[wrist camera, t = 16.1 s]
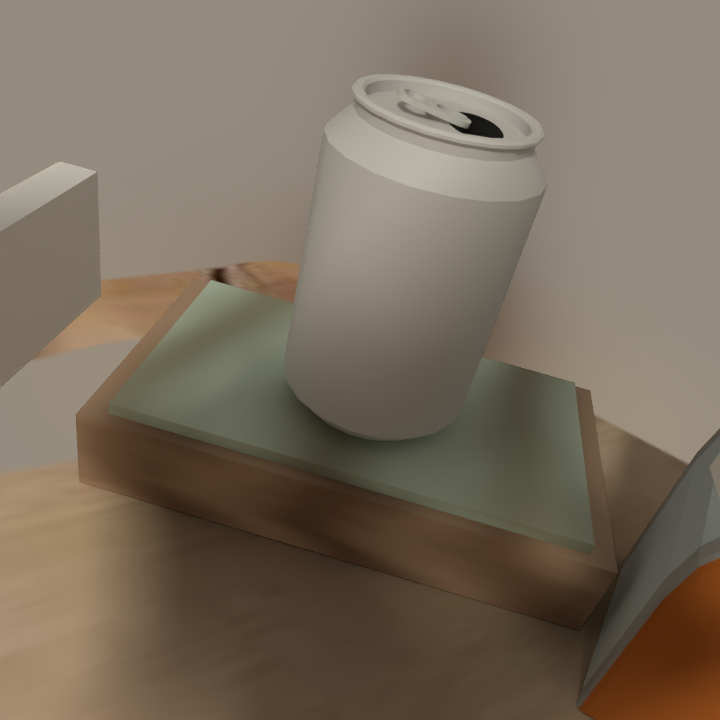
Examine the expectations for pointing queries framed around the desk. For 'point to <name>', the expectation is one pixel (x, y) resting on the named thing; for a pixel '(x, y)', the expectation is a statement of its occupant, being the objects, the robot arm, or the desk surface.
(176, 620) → the desk surface
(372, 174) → the can
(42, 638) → the desk surface
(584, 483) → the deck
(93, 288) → the robot arm
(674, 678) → the alarm clock
